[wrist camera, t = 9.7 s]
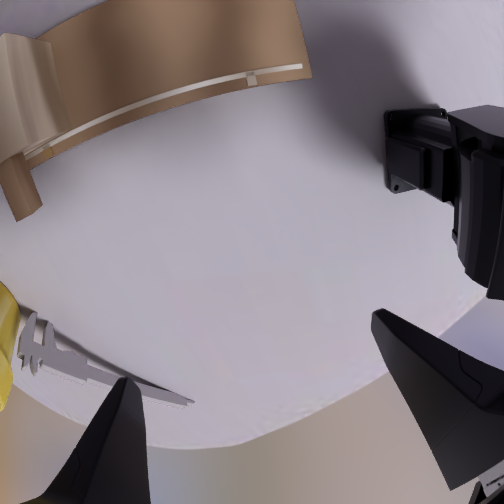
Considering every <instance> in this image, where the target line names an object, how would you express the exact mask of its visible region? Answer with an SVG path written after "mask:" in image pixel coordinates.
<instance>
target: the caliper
mask: <svg viewBox="0 0 504 504" xmlns="http://www.w3.org/2000/svg"><path fill="white" fill-rule="evenodd" d="M36 317H37V313H35V312H33V313H32V314H31V315H30V317H29V319H28V321H27V323H26V325H25V327H24V329H23V331H22V333H21V335H20V337H19V344H18V353H17V357H18V358H20V359H22V360H23V361H22V369H21V371H23V370H24V369H25V368H26V367H27V365H28V363H29V361H30V369H31V372H32V374H33V376H35V375H36V373H37V368H38V363H39V364H40V368H41V369H42V370H44V371H47V372H49V373H52V374H54V375H57V376H59V377H62V378H65V379H67V380H70V381H73V382H75V383H78V384H81V385H83V384H84V383H85V382H86V383H89V384H92V385H95V386H98V387H101V388H104V389H107V390H110V391H111V389H112V387H113V386H114V384H115V383H116V381H117V380H118V379H119V378H120V377H119V376H116V375H114V374H111V373H108V372H105V371H103V370H100V369H97V368H95V367H92V366H89V365H87V358H86V357H85V356H80V355H77V354H76V353H74V352H73V351H65V350H64V351H61V350H59V349H57V348H56V343H55V337H54V331H53V325H52V323H50V322H49V321H48V322H47V323H46V325H45V330H44V332H43V339H42V345H40V344H38V343H36V342H34V341H33V337H34V330H35V322H36ZM135 383H136V385H137V386H138V387H139V388H140V390H141V394H142V400H145V401H148V402H152V403H157V404H161V405H165V406H170V407H174V408H179V409H183V408H185V407H189V406H191V405H192V404H194V403H195V401H192V400H187V399H186V397H183V396H181V395H179V394H176V393H174V392H170V391H166V390H162V389H158V388H155V387H151V386H148V385H144V384H141V383H138V382H135Z"/></svg>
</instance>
